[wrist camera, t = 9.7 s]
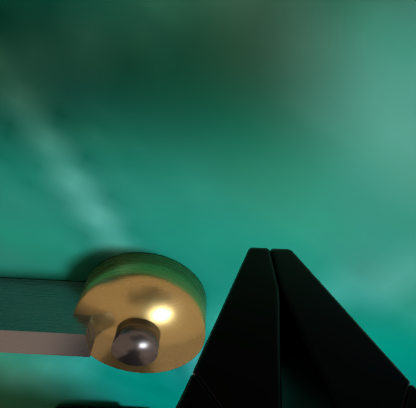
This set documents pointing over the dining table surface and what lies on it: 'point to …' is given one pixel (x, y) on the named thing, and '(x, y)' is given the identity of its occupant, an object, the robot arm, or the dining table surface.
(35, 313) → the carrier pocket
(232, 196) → the dining table surface
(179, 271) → the gold rounded dome
